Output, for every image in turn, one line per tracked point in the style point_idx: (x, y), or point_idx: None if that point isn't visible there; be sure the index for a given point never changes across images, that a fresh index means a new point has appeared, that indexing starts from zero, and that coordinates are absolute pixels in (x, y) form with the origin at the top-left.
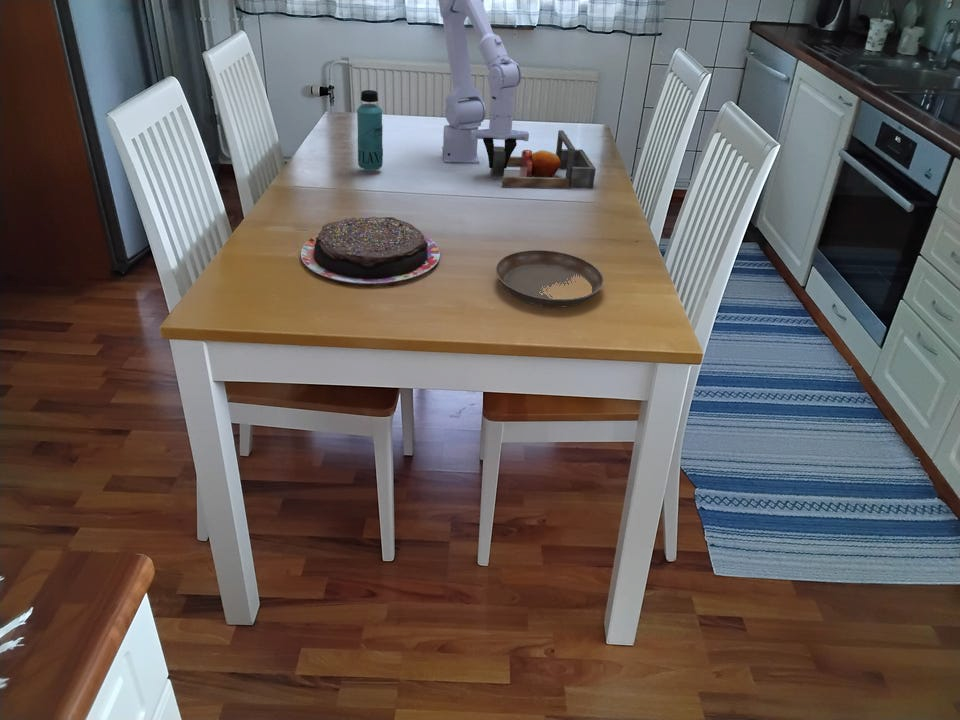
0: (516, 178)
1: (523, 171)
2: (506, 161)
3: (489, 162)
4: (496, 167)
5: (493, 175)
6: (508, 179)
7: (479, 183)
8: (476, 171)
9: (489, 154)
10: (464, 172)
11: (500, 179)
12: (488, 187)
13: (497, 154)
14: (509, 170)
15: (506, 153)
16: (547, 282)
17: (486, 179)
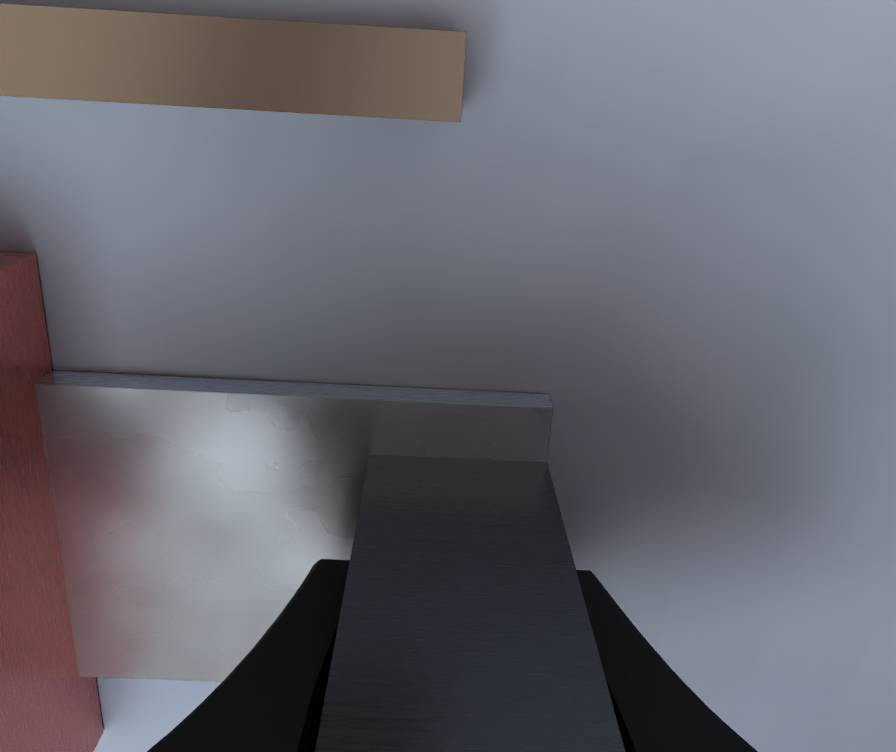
0: (173, 18)
1: (39, 560)
2: (305, 623)
3: (631, 635)
4: (500, 534)
5: (528, 465)
6: (349, 27)
7: (800, 224)
8: (695, 668)
9: (710, 734)
10: (867, 635)
11: (428, 388)
12: (706, 30)
13: (525, 716)
14: None
15: (291, 744)
16: None
17: (639, 394)
